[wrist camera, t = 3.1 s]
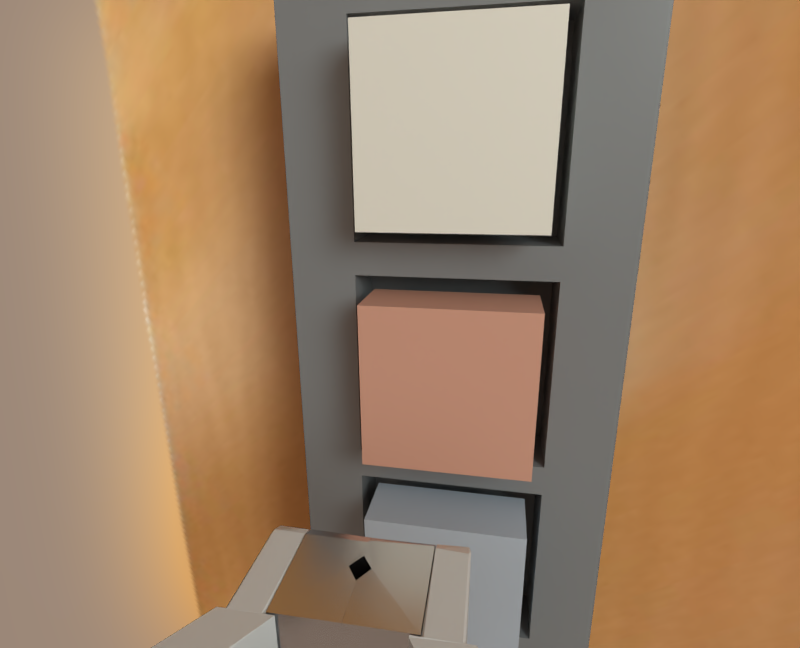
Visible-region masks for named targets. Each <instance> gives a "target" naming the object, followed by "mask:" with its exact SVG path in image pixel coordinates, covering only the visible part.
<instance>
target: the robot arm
mask: <svg viewBox="0 0 800 648" xmlns="http://www.w3.org/2000/svg"><path fill="white" fill-rule="evenodd" d="M470 567H471V550H470V548H469V547H460V546H450V545H439V544H437V546H436V545H432V544H423V543H414V542H405V541H396V540H387V539H378V538H370V537H363V536H356V535H349V534H342V533H335V532H328V531H321V530H314V529H311V530H308V529H303V528H296V527H289V526H282V525H280V526H279V527H278V528H276V529H275V530H274V531H273V532H272V533H271V535H270V536H269V538H268V540H267V541H266V543H265V545H264V546H263V548H262V550H261V551H260V553H259V555H258V556H257V558H256V560H255V561H254V563H253V564H252V566H251V568H250V569H249V571H248V573H247V574H246V576H245V578H244V579H243V581H242V583H241V584H240V586H239V588H238V589H237V591H236V592H235V594H234V596H233V597H232V599H231V601H230V602H229V604H228V606H227V607H226V608H222V607H215V608H213V609H212V610H210V611H209V612H207V613H206V614H204V615H202V616H201V617H199V618H198V619H196V620H194V621H193V622H191V623H190V624H188V625H186V626H185V627H183V628H182V629H180V630H179V631H177V632H175V633H174V634H172V635H171V636H169V637H167V638H166V639H164V640H163V641H161V642H159V643H158V644H156V645H155V646H153V647H152V648H478V646H476V645H471V644H467V637H468V614H469V590H470Z"/></svg>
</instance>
